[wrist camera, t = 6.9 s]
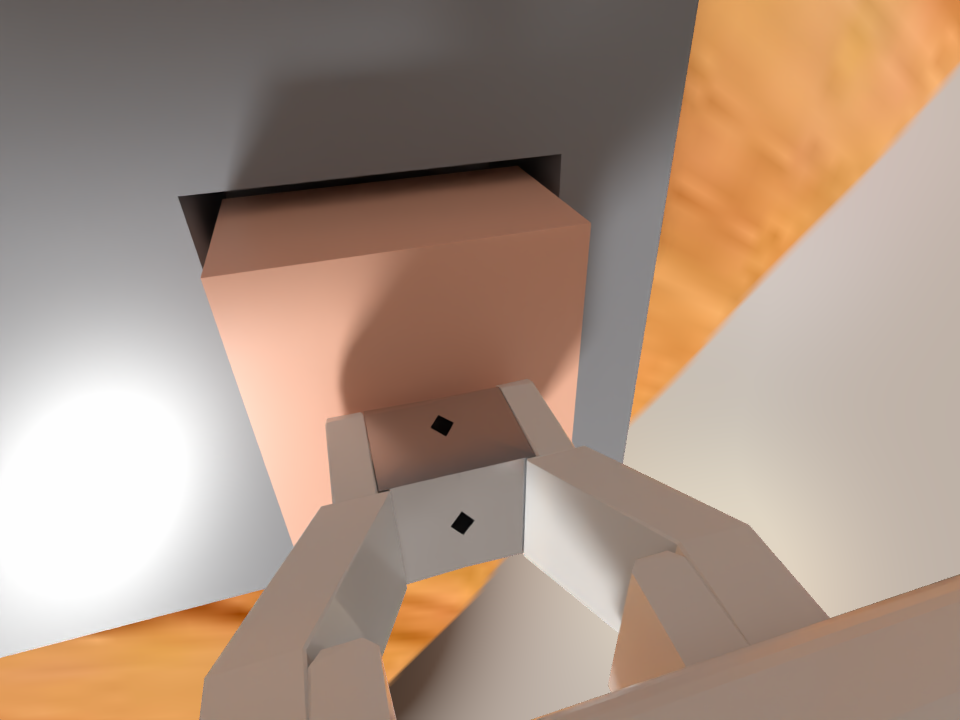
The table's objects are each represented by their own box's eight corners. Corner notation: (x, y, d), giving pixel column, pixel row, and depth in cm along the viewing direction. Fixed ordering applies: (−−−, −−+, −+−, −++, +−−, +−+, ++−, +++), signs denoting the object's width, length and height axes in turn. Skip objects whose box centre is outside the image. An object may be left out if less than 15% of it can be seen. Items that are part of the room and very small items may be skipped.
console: (-942, -40, 7) (-2471, -67, 3) (567, -67, 12) (713, -93, 8) (-235, 548, 14) (-439, 771, 10) (545, 386, 19) (617, 496, 15)
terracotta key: (222, 198, 9) (200, 278, 7) (517, 165, 10) (591, 223, 8) (291, 432, 12) (293, 547, 9) (515, 387, 13) (568, 479, 10)
